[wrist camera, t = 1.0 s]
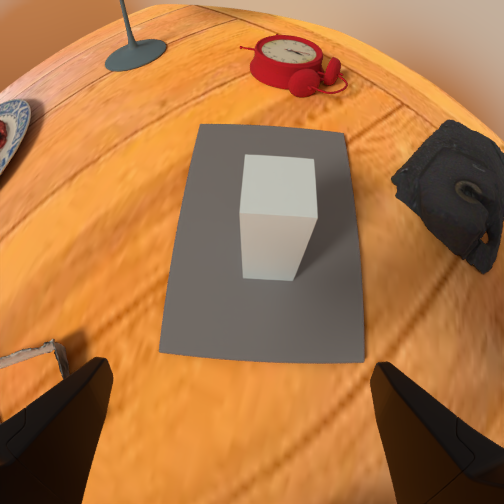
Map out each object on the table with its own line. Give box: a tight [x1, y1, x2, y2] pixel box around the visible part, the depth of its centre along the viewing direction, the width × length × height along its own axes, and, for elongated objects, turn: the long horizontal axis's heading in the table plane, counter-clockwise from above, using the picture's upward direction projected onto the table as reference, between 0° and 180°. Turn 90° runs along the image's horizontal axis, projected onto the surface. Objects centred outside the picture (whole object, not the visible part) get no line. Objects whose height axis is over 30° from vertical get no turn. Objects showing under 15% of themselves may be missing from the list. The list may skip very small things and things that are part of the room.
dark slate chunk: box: [391, 120, 504, 274], centre depth 29 cm, size 15×22×5 cm
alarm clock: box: [240, 34, 348, 97], centre depth 35 cm, size 10×6×15 cm
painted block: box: [239, 154, 318, 281], centre depth 21 cm, size 4×4×10 cm
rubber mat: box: [159, 124, 364, 363], centre depth 27 cm, size 24×16×1 cm, turn 177°
